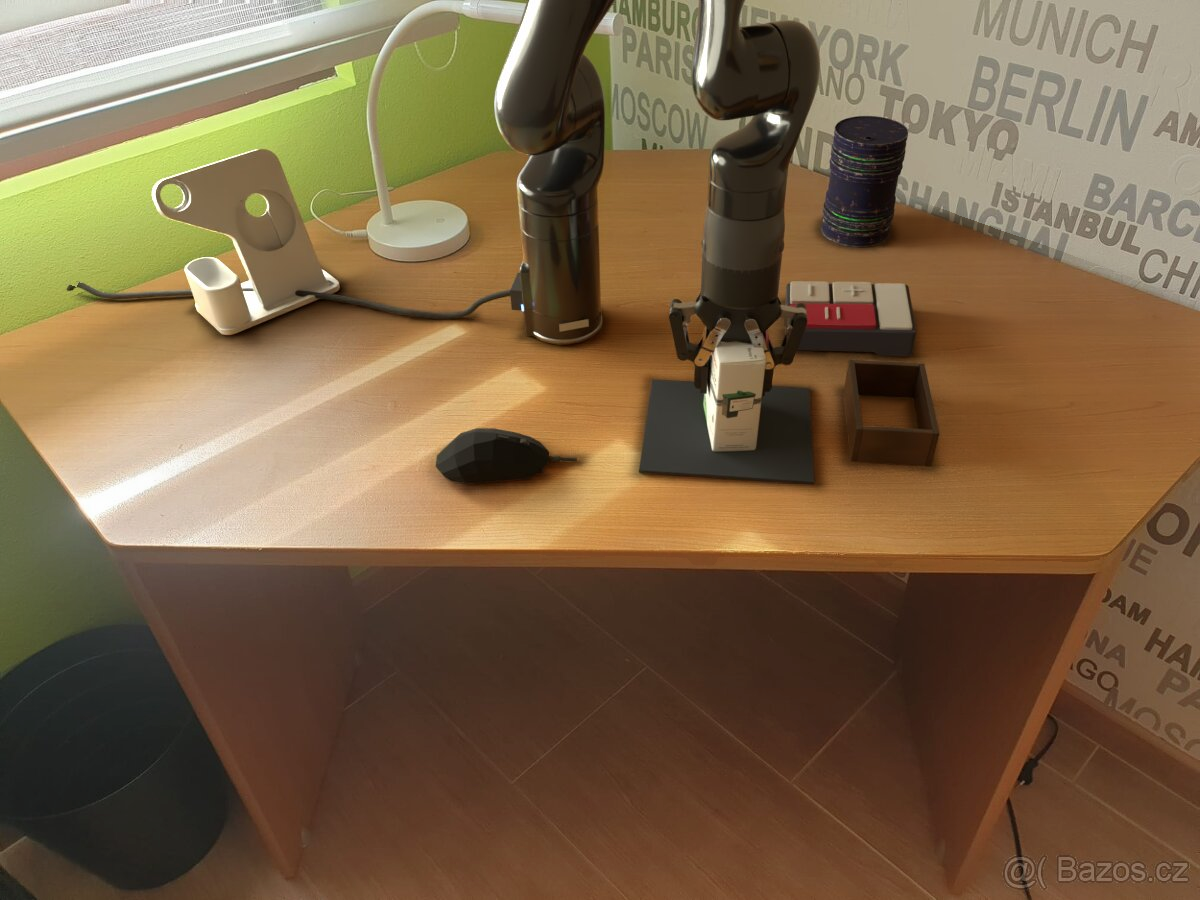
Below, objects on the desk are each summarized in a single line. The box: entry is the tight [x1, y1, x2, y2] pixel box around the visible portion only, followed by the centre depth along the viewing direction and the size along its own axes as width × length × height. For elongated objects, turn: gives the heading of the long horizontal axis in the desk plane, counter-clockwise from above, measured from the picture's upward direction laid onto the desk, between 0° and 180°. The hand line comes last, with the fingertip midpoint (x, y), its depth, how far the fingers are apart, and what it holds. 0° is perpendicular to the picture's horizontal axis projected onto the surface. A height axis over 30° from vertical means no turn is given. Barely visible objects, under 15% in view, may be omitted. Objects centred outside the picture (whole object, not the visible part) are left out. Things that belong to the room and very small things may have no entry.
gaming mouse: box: [435, 427, 578, 485], centre depth 100 cm, size 6×15×4 cm, turn 93°
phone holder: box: [151, 148, 341, 336], centre depth 122 cm, size 17×10×18 cm, turn 131°
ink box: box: [703, 341, 766, 452], centre depth 100 cm, size 9×5×12 cm, turn 2°
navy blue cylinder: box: [820, 115, 909, 248], centre depth 133 cm, size 10×10×15 cm
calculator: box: [784, 280, 917, 358], centre depth 117 cm, size 11×4×15 cm
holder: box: [842, 359, 941, 467], centre depth 103 cm, size 8×12×4 cm
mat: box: [638, 378, 816, 485], centre depth 104 cm, size 18×16×1 cm
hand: (732, 390), depth 101 cm, fingers closed on ink box, 5 cm apart
